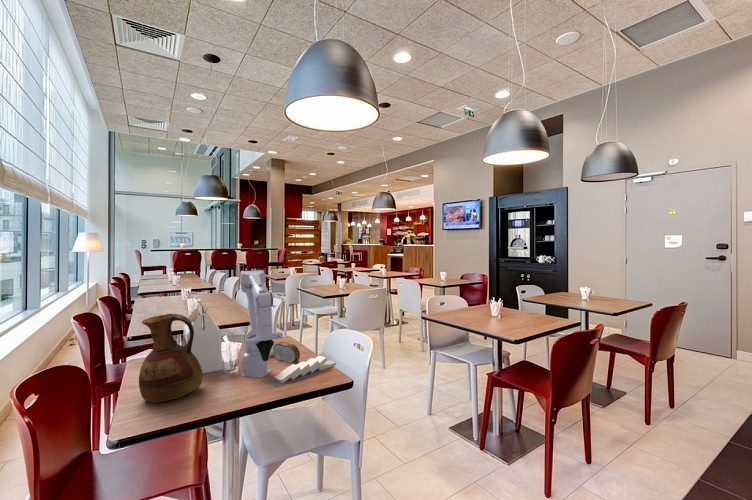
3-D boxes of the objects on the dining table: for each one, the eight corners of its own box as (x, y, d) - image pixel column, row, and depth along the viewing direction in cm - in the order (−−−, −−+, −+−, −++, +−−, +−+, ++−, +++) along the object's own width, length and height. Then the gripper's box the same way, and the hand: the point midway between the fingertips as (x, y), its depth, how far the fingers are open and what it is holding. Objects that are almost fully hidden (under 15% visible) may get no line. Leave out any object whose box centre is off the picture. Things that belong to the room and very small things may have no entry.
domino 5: (319, 366, 152) (335, 362, 159) (312, 364, 156) (328, 360, 162) (319, 370, 152) (335, 366, 159) (312, 367, 156) (328, 363, 162)
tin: (300, 363, 164) (300, 344, 164) (295, 365, 161) (295, 346, 161) (277, 358, 172) (277, 340, 172) (272, 359, 169) (271, 342, 169)
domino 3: (301, 373, 146) (318, 360, 152) (294, 370, 149) (311, 357, 155) (302, 376, 146) (319, 363, 152) (295, 373, 150) (312, 360, 156)
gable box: (222, 370, 157) (220, 306, 156) (188, 376, 150) (185, 309, 149) (215, 356, 176) (213, 299, 175) (184, 362, 169) (182, 302, 168)
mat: (276, 388, 136) (276, 387, 136) (265, 383, 141) (265, 382, 141) (324, 371, 152) (324, 370, 152) (312, 367, 158) (312, 366, 158)
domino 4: (310, 370, 149) (326, 357, 155) (303, 367, 152) (319, 355, 158) (311, 373, 149) (327, 360, 155) (304, 370, 153) (320, 358, 159)
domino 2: (291, 376, 142) (308, 363, 148) (284, 373, 146) (301, 361, 152) (292, 379, 143) (310, 366, 149) (285, 376, 146) (302, 364, 152)
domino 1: (281, 380, 139) (299, 366, 145) (274, 377, 142) (292, 363, 148) (282, 383, 139) (300, 369, 145) (275, 380, 143) (293, 367, 149)
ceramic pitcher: (141, 392, 135) (138, 312, 134) (201, 381, 145) (198, 306, 144) (137, 413, 118) (133, 322, 117) (205, 399, 128) (202, 315, 127)
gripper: (251, 330, 128) (252, 367, 129) (286, 322, 139) (287, 357, 139) (242, 327, 133) (243, 363, 133) (276, 320, 144) (277, 354, 144)
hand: (265, 360), depth 137 cm, fingers closed
